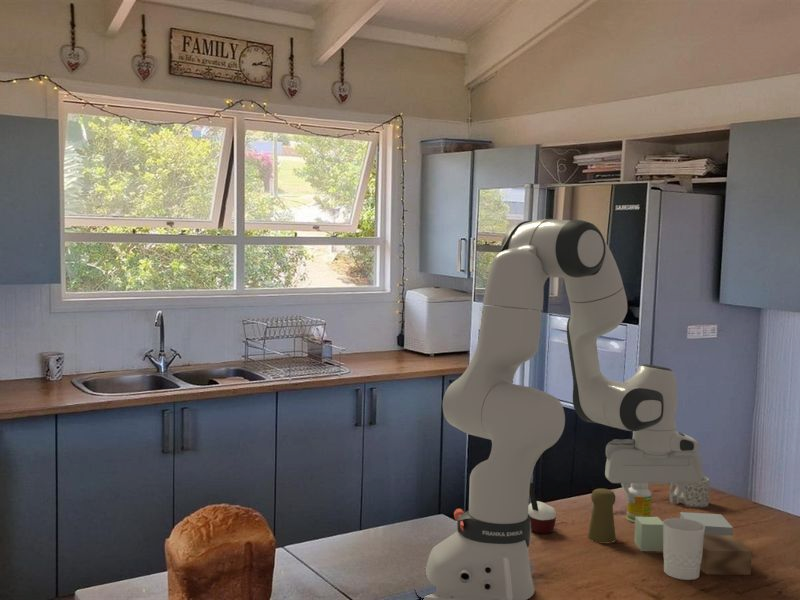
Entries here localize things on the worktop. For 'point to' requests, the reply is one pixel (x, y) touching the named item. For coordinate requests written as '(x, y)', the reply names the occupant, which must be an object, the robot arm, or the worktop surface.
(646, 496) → the supplement bottle
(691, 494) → the mug
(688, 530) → the white cup
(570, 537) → the worktop surface
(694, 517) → the grey block
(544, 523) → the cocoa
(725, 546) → the walnut block
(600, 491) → the cork
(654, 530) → the sage block
